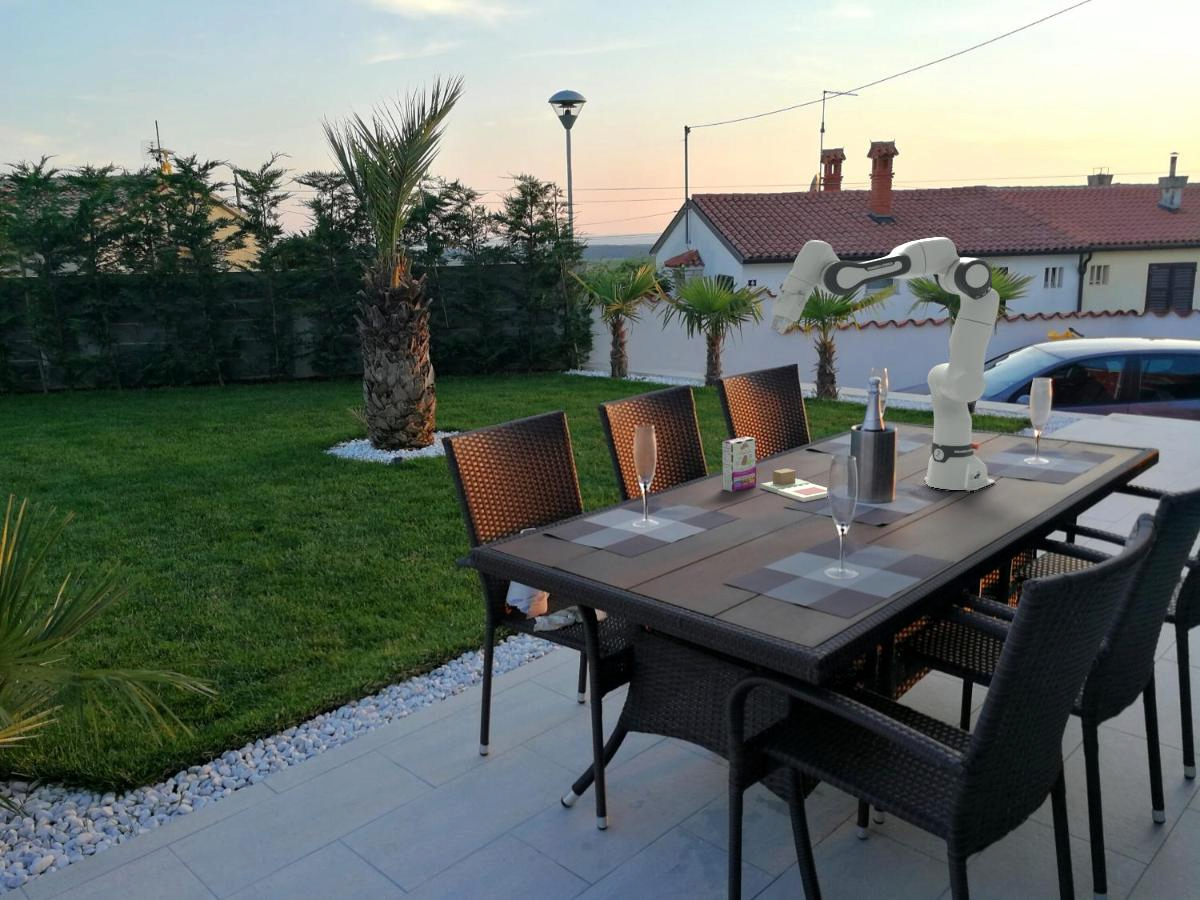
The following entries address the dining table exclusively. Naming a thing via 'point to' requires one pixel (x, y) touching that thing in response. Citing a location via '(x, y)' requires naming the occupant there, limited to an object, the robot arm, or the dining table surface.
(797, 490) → the board
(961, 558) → the dining table surface
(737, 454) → the candy bar box
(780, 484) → the stub
